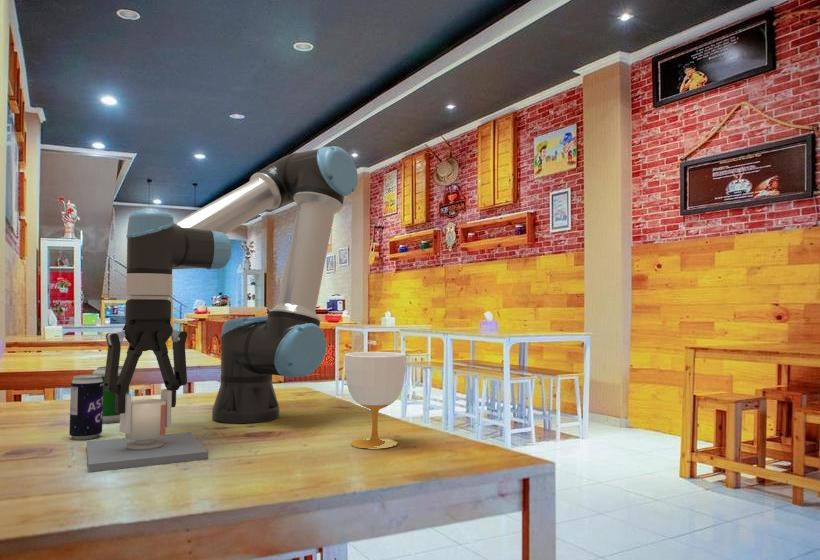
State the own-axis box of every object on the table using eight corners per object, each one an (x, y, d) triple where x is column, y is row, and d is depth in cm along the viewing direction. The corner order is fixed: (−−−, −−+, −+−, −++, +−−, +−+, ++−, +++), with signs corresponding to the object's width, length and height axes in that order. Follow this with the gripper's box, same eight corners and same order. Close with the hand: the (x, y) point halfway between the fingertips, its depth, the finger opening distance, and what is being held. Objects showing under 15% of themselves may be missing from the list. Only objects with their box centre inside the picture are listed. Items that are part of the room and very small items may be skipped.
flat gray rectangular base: (190, 438, 119) (190, 424, 119) (207, 458, 103) (208, 442, 103) (86, 448, 110) (87, 433, 110) (88, 472, 94) (88, 454, 95)
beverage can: (88, 441, 116) (89, 378, 116) (62, 439, 117) (64, 377, 117) (108, 435, 121) (110, 374, 122) (83, 433, 122) (85, 374, 123)
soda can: (135, 419, 137) (136, 366, 138) (103, 425, 131) (105, 369, 132) (116, 416, 141) (117, 364, 142) (84, 421, 135) (85, 367, 136)
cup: (418, 444, 115) (418, 354, 116) (373, 454, 107) (374, 357, 107) (375, 434, 123) (376, 350, 124) (330, 444, 115) (331, 353, 115)
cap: (122, 435, 108) (123, 400, 108) (160, 430, 111) (160, 397, 112) (129, 441, 102) (130, 405, 103) (169, 437, 106) (170, 402, 106)
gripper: (190, 299, 117) (188, 419, 116) (82, 297, 103) (78, 434, 102) (209, 298, 112) (207, 424, 111) (99, 297, 98) (95, 441, 97)
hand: (145, 428), depth 107 cm, fingers closed on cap, 6 cm apart
